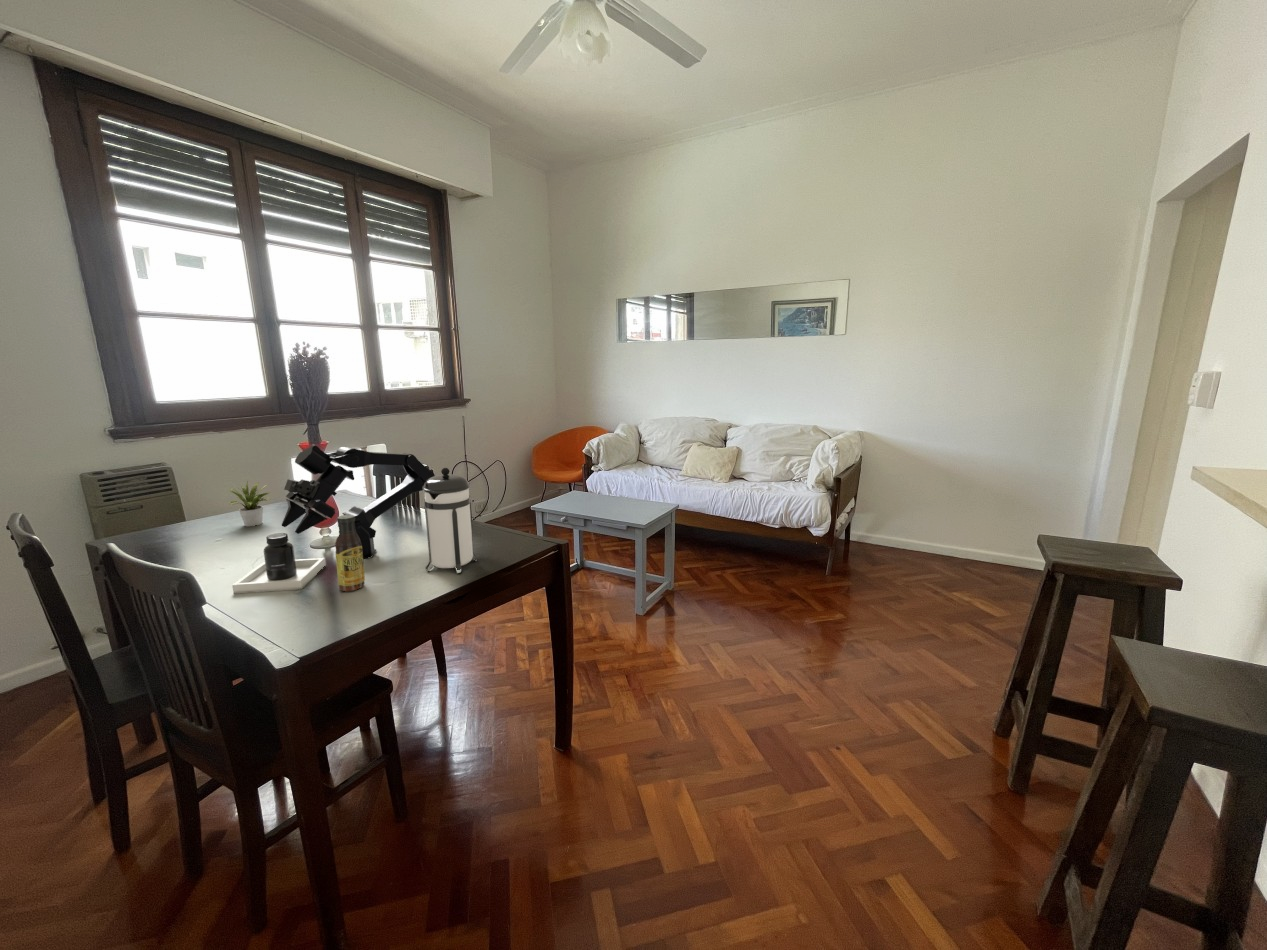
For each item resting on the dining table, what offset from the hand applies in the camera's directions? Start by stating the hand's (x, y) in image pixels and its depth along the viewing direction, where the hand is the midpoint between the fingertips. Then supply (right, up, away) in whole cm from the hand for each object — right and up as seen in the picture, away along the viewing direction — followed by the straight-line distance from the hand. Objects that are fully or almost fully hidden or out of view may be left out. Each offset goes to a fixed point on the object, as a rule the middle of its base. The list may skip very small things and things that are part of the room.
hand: (289, 529), depth 139 cm
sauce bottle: (+20, -15, -5) cm, 26 cm away
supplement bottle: (-2, -13, 0) cm, 14 cm away
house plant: (-45, -3, +45) cm, 64 cm away
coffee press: (+42, -12, +11) cm, 45 cm away
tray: (-2, -14, 0) cm, 14 cm away
